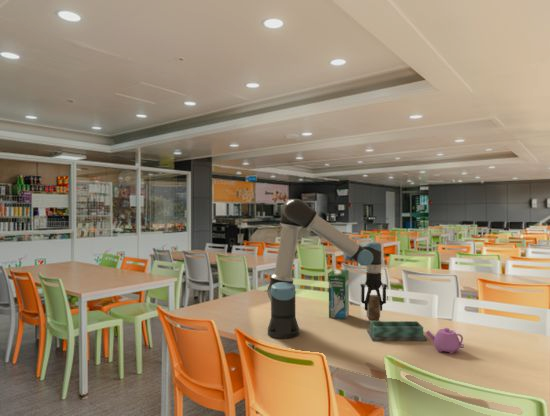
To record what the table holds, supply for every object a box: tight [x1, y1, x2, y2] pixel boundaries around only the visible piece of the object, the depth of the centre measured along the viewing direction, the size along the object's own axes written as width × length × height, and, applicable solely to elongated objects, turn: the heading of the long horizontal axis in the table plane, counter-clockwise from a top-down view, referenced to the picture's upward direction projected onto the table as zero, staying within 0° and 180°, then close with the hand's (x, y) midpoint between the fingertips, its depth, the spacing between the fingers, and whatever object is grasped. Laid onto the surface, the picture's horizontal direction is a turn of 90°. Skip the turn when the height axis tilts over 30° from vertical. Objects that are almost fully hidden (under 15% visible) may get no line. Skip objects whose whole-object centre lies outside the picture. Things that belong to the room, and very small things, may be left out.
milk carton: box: [328, 268, 350, 320], centre depth 223 cm, size 9×9×25 cm
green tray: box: [366, 320, 428, 342], centre depth 189 cm, size 24×12×6 cm, turn 88°
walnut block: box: [367, 294, 380, 321], centre depth 213 cm, size 5×5×12 cm
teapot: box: [425, 327, 465, 355], centre depth 171 cm, size 10×15×9 cm
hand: (373, 316), depth 213 cm, fingers closed on walnut block, 5 cm apart
